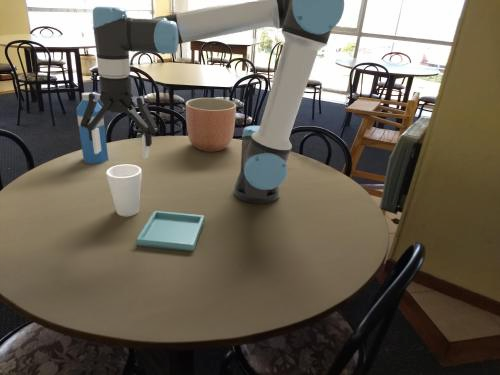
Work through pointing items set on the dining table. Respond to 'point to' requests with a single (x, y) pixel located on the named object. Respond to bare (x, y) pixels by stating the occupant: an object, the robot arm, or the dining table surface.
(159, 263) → the dining table surface
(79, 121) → the water bottle
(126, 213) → the foam cup
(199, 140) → the planter
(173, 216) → the tray
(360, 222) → the dining table surface
